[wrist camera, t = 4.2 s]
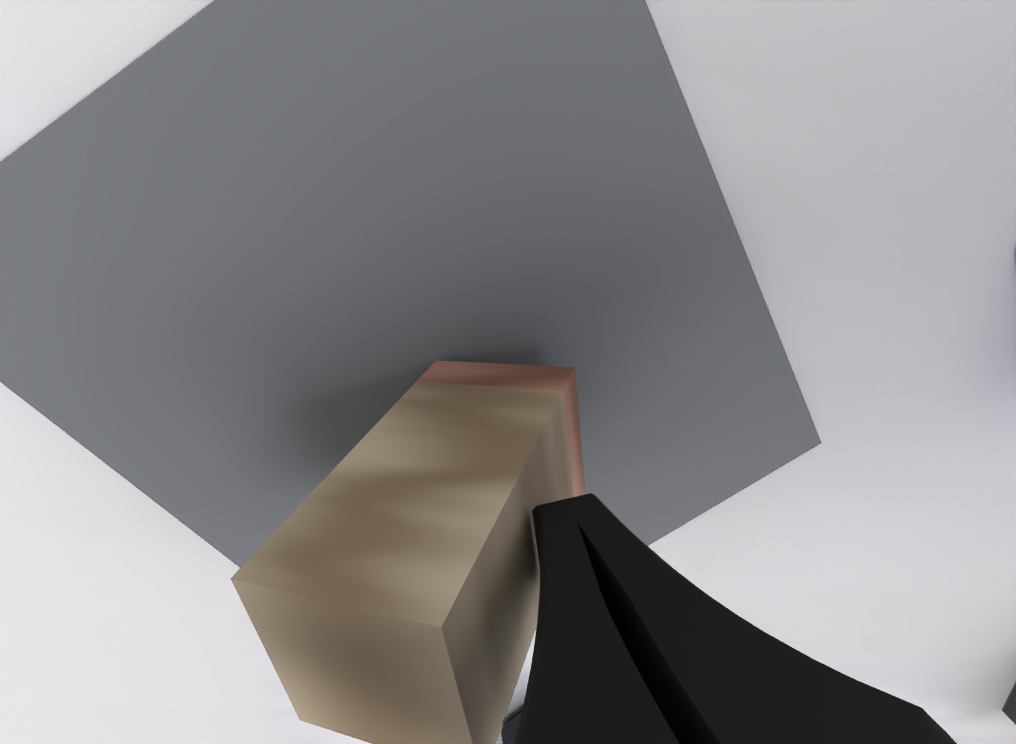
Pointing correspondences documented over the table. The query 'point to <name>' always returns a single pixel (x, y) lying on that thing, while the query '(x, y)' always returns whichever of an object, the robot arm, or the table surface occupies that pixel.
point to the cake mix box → (1011, 705)
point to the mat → (387, 254)
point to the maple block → (421, 559)
